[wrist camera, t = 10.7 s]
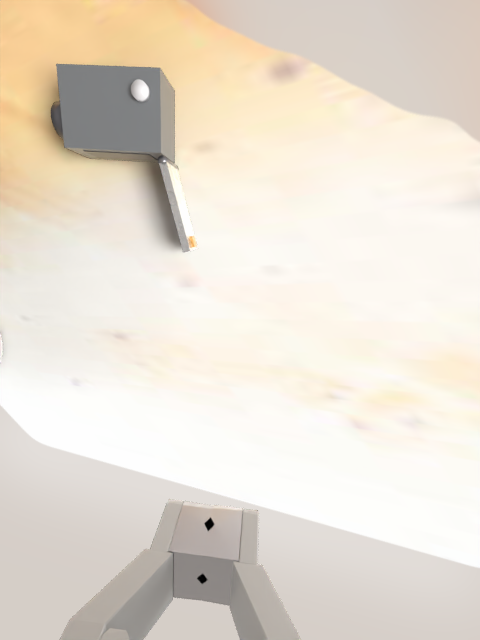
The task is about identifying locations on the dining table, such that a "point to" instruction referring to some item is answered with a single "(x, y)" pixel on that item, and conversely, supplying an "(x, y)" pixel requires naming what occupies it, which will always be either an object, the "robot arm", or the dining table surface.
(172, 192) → the side door
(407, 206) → the dining table surface
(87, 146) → the camera body
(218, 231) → the dining table surface
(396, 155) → the dining table surface
